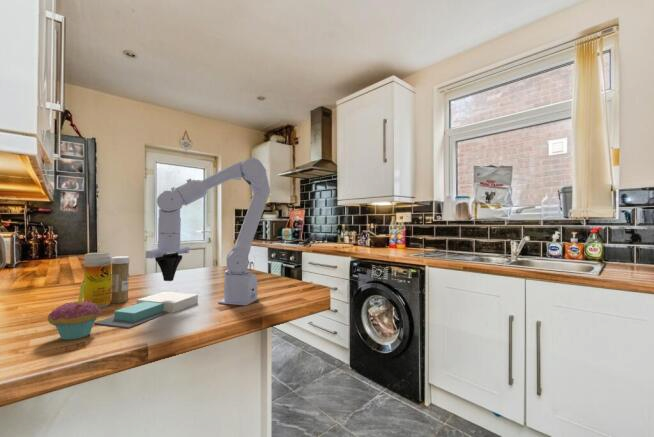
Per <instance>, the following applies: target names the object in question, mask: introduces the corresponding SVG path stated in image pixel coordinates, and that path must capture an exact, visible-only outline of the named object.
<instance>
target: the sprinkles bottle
mask: <svg viewBox="0 0 654 437" xmlns="http://www.w3.org/2000/svg"><path fill="white" fill-rule="evenodd" d="M130 260H131V257H130V256H126V255H125V256H124V255H120V256H111V302H110V303H112V304H121V303H125V302H128V301H129V280H130V279H129V278H130V274H129V265H130Z"/></svg>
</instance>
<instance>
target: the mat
mask: <svg viewBox="0 0 654 437" xmlns="http://www.w3.org/2000/svg"><path fill="white" fill-rule="evenodd" d="M169 313H170V312H166V311H161V312H159V313H156V314H153V315H151V316H148V317H145V318H143V319H140V320H137V321H135V322H133V321H124V320H116V319H114V316H111V317H108V318H105V319H102V320H99V321H95V322H94V324H93V325H99V326H104V327H105V326H108V327H114V328H122V329H131V328H134V327H136V326H139V325H141V324H144V323H146V322H149V321H151V320H154V319H158V318H159V317H162V316H164V315H167V314H169Z"/></svg>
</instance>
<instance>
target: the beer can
mask: <svg viewBox="0 0 654 437" xmlns="http://www.w3.org/2000/svg"><path fill="white" fill-rule="evenodd" d="M111 258H112V256H111V254H110V252H106V251H104V252H99V251H98V252H88V253H85V256H84V258H83V280H84V283H85V286H84V292H83V299H82V302H83V301H90V302H91V303H95V304H96V305H98V306H99V308H100V309H102V308H106V307H108V306H109V304H110V303H111V274H112V264H111Z"/></svg>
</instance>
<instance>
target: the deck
mask: <svg viewBox="0 0 654 437" xmlns="http://www.w3.org/2000/svg"><path fill="white" fill-rule="evenodd" d="M198 300H199V295H198V294H194V293H183V292H175V291H174V292H170V291H162V292H159V293H154V294H151V295H149V296H145V297H141V298H138V299H136V304H139V303H142V302H154V303H163V311H166V312H169V313H173V314H174V313H175V312H179V311H181V310H184V309H186V308H188V307H191V306H194V305H196V304H198V303H199V301H198Z"/></svg>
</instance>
